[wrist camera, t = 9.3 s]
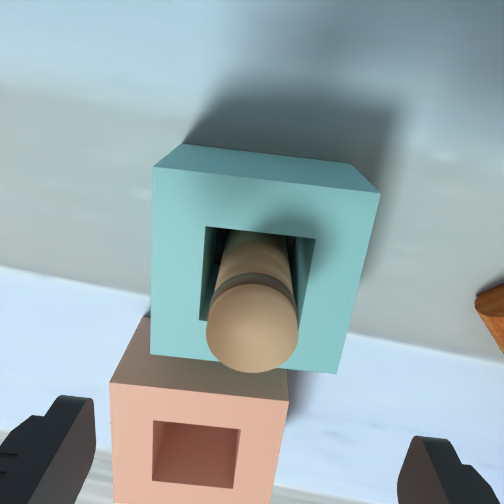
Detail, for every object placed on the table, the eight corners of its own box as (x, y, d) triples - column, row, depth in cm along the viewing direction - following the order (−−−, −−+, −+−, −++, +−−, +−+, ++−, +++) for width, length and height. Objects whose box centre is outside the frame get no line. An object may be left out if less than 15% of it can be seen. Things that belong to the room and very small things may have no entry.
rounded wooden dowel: (289, 208, 22) (307, 299, 13) (280, 262, 24) (292, 378, 15) (230, 202, 22) (207, 288, 13) (225, 255, 24) (201, 368, 15)
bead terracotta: (283, 332, 26) (289, 401, 20) (266, 435, 29) (266, 517, 24) (142, 316, 26) (109, 382, 20) (142, 422, 29) (113, 502, 24)
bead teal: (350, 163, 21) (381, 193, 16) (320, 308, 25) (336, 374, 19) (181, 143, 21) (152, 166, 16) (175, 292, 25) (150, 353, 19)
